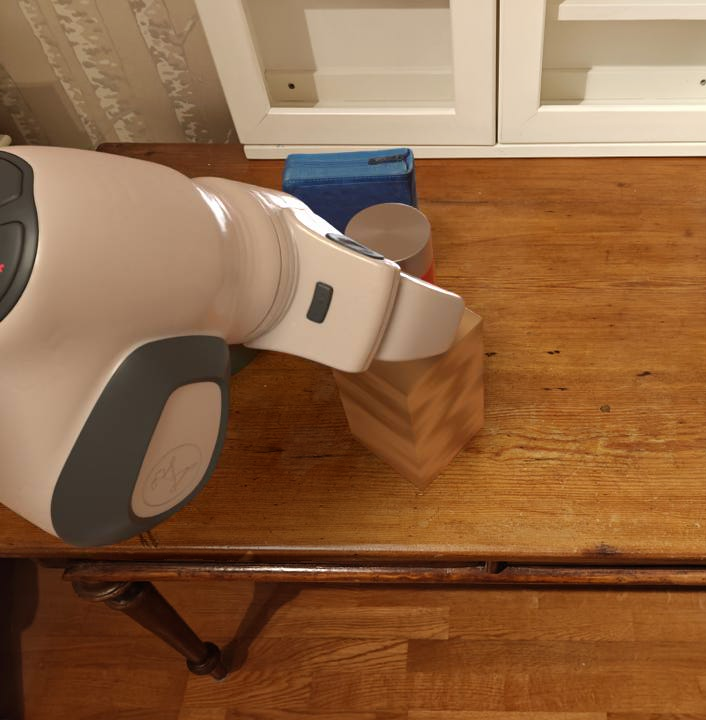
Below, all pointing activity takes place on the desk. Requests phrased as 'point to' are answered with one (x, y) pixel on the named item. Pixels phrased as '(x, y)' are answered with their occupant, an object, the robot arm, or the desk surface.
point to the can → (396, 237)
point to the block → (419, 405)
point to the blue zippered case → (350, 182)
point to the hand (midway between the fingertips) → (373, 273)
